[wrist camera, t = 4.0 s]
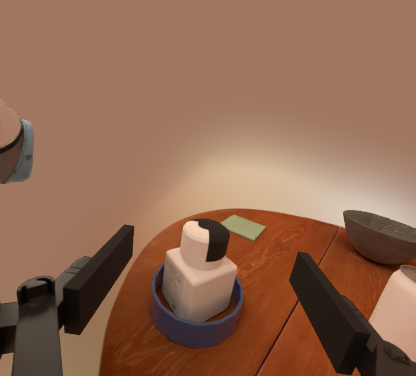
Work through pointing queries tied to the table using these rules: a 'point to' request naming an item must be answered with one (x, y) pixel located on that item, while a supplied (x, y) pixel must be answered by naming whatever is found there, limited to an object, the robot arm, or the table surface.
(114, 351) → the table surface
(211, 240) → the container
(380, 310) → the can
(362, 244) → the bowl
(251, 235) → the mat
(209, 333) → the ring
